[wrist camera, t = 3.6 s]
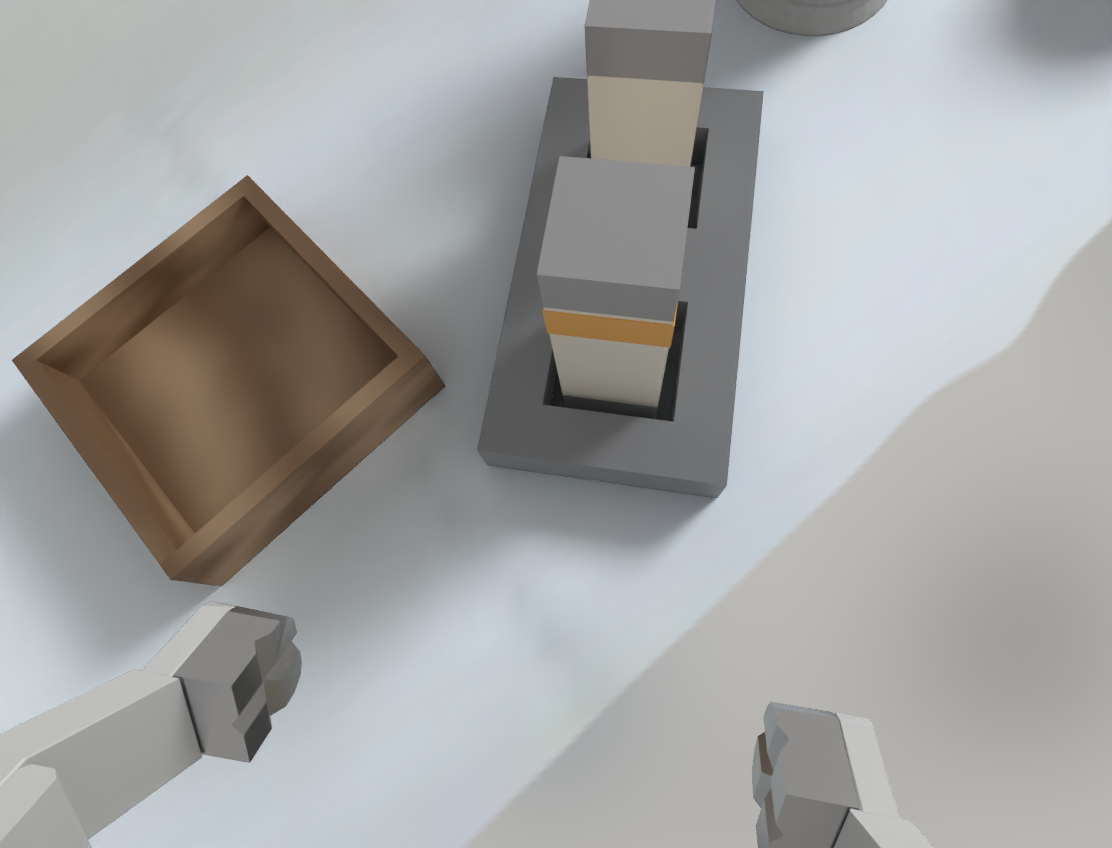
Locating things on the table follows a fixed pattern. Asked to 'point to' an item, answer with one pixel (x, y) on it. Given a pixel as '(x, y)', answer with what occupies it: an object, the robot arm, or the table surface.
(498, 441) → the fuse block
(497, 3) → the table surface
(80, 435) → the tray
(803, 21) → the grey mug
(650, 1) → the block
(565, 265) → the block
